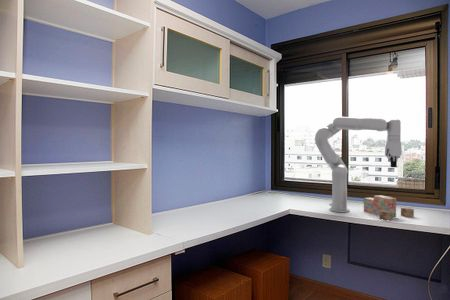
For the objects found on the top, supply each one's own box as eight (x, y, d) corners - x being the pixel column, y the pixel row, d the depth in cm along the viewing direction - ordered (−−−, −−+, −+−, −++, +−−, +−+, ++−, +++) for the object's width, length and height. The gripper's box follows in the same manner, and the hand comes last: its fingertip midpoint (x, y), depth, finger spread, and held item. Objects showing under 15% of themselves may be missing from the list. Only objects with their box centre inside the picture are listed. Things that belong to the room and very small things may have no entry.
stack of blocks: (363, 211, 203) (363, 193, 203) (370, 210, 205) (370, 193, 205) (388, 218, 183) (388, 198, 183) (396, 217, 185) (396, 198, 185)
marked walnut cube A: (379, 219, 180) (379, 210, 180) (384, 218, 183) (384, 209, 183) (387, 220, 176) (387, 212, 176) (392, 219, 179) (392, 211, 179)
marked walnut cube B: (400, 215, 190) (400, 207, 190) (407, 215, 191) (408, 207, 191) (406, 217, 185) (406, 209, 185) (413, 217, 186) (413, 209, 186)
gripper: (396, 139, 196) (396, 166, 197) (380, 138, 191) (380, 167, 191) (407, 138, 189) (407, 167, 190) (390, 138, 184) (390, 167, 184)
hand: (393, 167), depth 190 cm, fingers closed
